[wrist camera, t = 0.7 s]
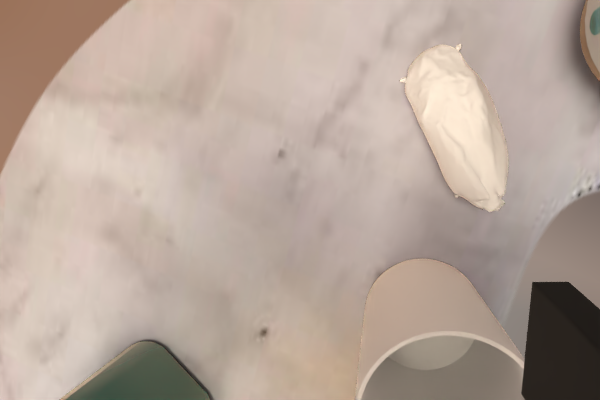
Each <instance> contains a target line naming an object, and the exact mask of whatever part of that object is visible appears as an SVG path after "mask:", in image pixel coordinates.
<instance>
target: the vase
mask: <svg viewBox="0 0 600 400" xmlns="http://www.w3.org/2000/svg"><path fill="white" fill-rule="evenodd" d="M580 40H581V47H582V51H583V54H584V57H585V60H586V62H587V64H588V66H589V68H590V69H591V71H592V73H593V74H594V75H595V77H596V78H597V79H598V80H599V82H600V0H586V2H585V5H584V8H583V11H582V16H581V22H580Z"/></svg>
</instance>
